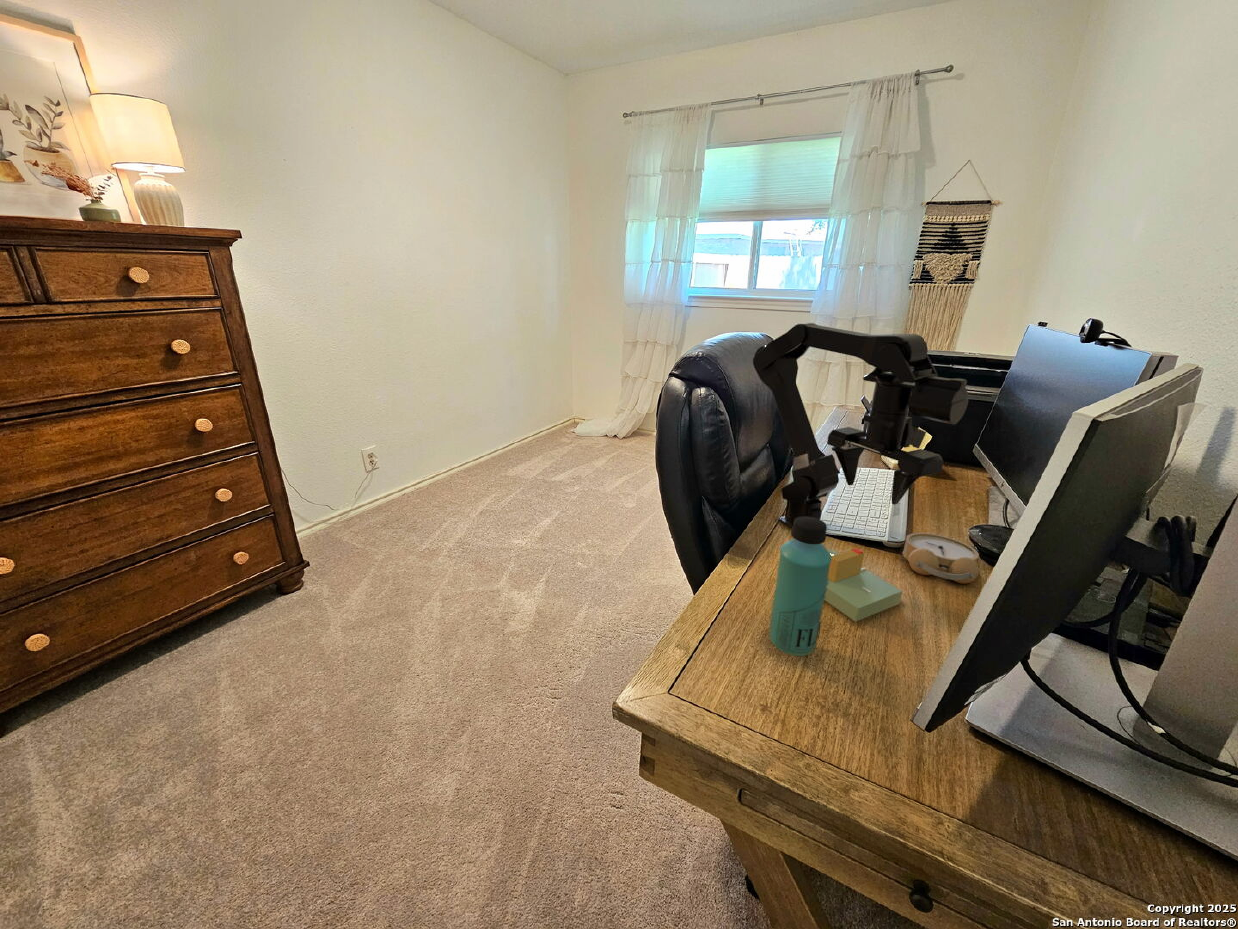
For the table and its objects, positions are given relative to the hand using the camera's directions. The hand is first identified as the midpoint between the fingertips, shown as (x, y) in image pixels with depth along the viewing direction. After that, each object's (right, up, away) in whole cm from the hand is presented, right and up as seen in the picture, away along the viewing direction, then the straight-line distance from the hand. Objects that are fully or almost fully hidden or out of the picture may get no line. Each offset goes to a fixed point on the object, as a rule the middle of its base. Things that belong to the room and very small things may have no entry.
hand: (871, 494), depth 88 cm
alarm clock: (+12, -13, -1) cm, 18 cm away
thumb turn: (-9, -13, -8) cm, 18 cm away
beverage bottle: (-22, -21, -20) cm, 36 cm away
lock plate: (-9, -15, -7) cm, 19 cm away
